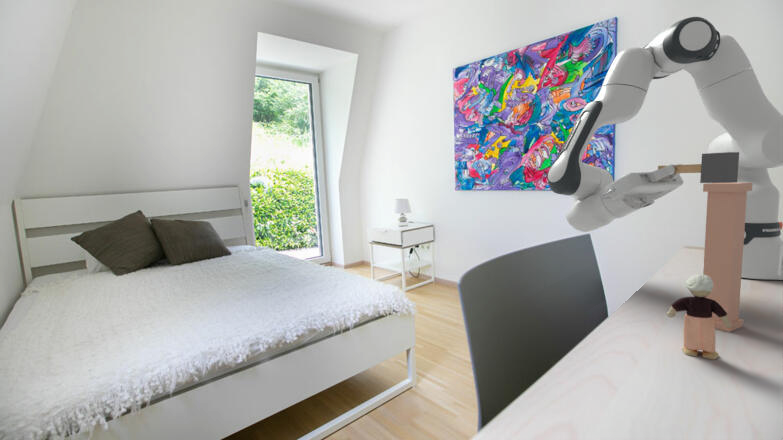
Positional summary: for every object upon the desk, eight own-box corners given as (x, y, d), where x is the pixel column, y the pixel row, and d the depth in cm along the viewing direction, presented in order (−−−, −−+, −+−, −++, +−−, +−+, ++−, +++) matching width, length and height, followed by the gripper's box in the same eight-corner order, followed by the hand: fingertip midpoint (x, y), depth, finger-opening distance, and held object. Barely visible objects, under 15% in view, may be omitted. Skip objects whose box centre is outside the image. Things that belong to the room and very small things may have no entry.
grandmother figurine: (722, 351, 59) (727, 273, 58) (731, 363, 56) (737, 279, 54) (663, 344, 62) (666, 269, 61) (668, 354, 59) (672, 275, 58)
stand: (709, 317, 73) (717, 182, 70) (742, 326, 68) (752, 182, 65) (695, 322, 70) (703, 183, 68) (729, 332, 66) (738, 183, 63)
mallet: (664, 182, 88) (666, 156, 88) (737, 182, 76) (739, 152, 76) (654, 182, 86) (655, 156, 86) (726, 182, 74) (728, 152, 74)
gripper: (591, 187, 92) (643, 155, 80) (641, 184, 101) (695, 155, 89) (602, 210, 89) (658, 180, 78) (653, 205, 98) (709, 178, 87)
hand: (678, 167), depth 84 cm, fingers closed on mallet, 2 cm apart
